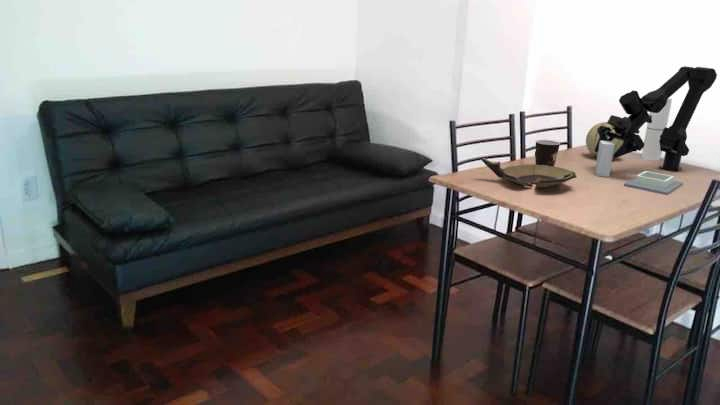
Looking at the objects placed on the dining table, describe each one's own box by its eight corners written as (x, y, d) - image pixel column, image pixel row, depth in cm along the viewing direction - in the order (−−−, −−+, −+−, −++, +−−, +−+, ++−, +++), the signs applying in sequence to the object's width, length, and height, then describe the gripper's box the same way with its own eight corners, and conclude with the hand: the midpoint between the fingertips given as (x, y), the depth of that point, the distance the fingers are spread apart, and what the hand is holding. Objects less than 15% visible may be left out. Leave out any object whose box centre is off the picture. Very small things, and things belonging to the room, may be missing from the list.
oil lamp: (561, 200, 190) (565, 176, 187) (473, 182, 206) (475, 160, 203) (581, 185, 207) (585, 163, 205) (499, 169, 223) (501, 149, 221)
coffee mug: (547, 165, 232) (550, 139, 228) (561, 171, 224) (565, 144, 221) (520, 166, 228) (524, 140, 225) (534, 172, 220) (537, 145, 217)
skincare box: (609, 177, 218) (615, 144, 214) (597, 176, 219) (602, 143, 215) (606, 173, 224) (611, 141, 220) (594, 172, 224) (599, 140, 221)
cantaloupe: (584, 160, 242) (589, 122, 237) (582, 152, 255) (588, 116, 251) (623, 164, 238) (630, 126, 233) (620, 156, 251) (626, 120, 247)
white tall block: (637, 156, 252) (648, 95, 244) (653, 156, 252) (665, 96, 245) (647, 160, 245) (659, 98, 237) (663, 160, 246) (676, 98, 238)
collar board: (641, 176, 221) (643, 167, 220) (682, 184, 212) (684, 175, 211) (623, 185, 208) (625, 176, 207) (667, 194, 199) (669, 185, 198)
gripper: (605, 103, 224) (576, 134, 223) (644, 112, 207) (613, 145, 207) (618, 124, 229) (590, 154, 228) (657, 134, 212) (627, 166, 212)
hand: (604, 154), depth 219 cm, fingers open, 9 cm apart
